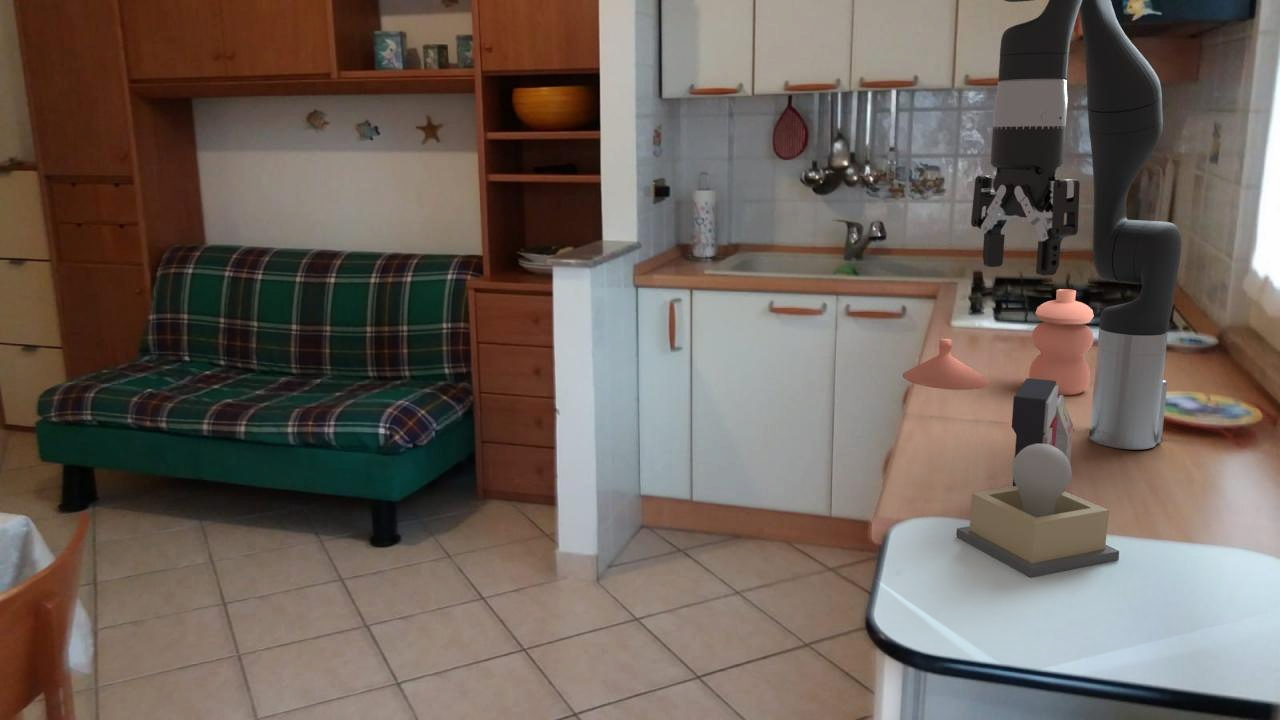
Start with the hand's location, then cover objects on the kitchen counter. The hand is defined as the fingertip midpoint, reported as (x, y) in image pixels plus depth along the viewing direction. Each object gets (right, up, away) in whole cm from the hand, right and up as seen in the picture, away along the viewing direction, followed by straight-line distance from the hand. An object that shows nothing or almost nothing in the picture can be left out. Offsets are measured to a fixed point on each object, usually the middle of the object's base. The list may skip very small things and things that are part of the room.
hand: (1018, 270), depth 116 cm
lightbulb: (+1, -30, -2) cm, 30 cm away
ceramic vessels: (+19, -16, +69) cm, 73 cm away
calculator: (+6, -28, +12) cm, 31 cm away
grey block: (+14, -26, +25) cm, 38 cm away
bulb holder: (+1, -31, -2) cm, 31 cm away
